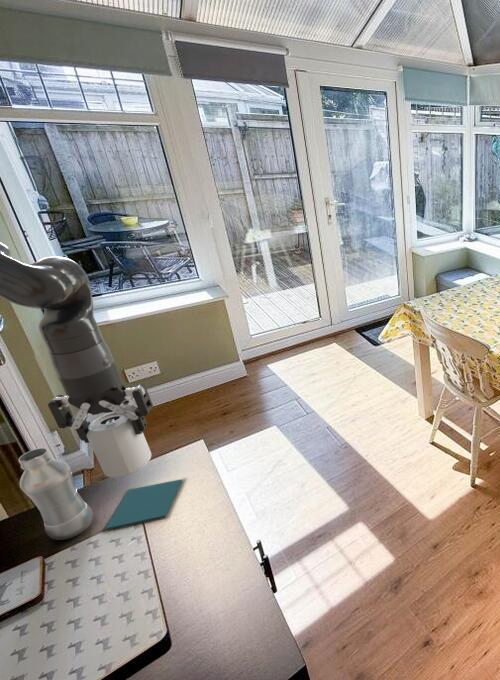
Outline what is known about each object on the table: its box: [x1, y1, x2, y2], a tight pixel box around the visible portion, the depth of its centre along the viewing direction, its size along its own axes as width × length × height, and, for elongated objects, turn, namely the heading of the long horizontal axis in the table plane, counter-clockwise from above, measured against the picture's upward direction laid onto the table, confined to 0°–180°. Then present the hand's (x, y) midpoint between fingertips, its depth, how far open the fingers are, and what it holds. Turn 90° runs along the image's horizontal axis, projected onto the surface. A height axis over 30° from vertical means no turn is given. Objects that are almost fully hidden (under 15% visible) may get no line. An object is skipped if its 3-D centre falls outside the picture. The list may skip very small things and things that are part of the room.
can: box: [86, 411, 152, 478], centre depth 83 cm, size 8×8×12 cm
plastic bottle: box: [18, 447, 94, 541], centre depth 79 cm, size 6×7×20 cm
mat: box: [105, 479, 183, 531], centre depth 89 cm, size 10×10×1 cm
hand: (116, 435), depth 82 cm, fingers closed on can, 7 cm apart
